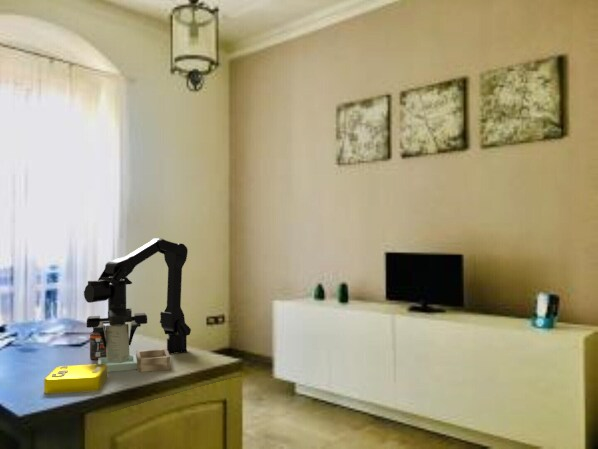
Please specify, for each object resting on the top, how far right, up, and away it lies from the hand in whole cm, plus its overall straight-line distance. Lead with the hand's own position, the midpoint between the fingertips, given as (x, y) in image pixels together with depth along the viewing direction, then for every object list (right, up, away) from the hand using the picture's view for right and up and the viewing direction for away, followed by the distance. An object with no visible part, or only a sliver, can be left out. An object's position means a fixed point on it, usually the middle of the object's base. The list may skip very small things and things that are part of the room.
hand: (117, 346), depth 175 cm
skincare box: (0, -5, 0) cm, 5 cm away
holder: (+12, -7, 0) cm, 13 cm away
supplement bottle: (-10, -7, +11) cm, 17 cm away
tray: (0, -7, 0) cm, 7 cm away
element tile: (-5, -7, -20) cm, 22 cm away
